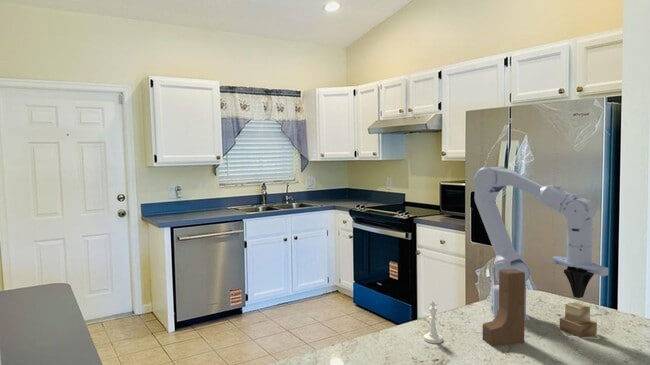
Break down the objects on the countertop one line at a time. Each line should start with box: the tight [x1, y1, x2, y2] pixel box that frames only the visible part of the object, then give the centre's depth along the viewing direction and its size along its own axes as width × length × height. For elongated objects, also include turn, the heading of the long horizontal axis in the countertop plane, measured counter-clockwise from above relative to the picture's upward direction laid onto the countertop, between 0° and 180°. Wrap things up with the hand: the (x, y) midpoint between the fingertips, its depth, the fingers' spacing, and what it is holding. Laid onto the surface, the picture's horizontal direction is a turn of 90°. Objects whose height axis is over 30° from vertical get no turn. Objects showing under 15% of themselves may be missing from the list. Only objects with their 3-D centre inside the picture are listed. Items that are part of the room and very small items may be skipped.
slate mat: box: [555, 324, 602, 340], centre depth 116 cm, size 15×11×1 cm
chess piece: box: [422, 300, 444, 344], centre depth 114 cm, size 5×5×10 cm
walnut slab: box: [559, 316, 598, 339], centre depth 116 cm, size 6×6×3 cm
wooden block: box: [482, 269, 526, 347], centre depth 111 cm, size 9×4×18 cm, turn 101°
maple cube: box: [564, 301, 591, 324], centre depth 116 cm, size 4×4×4 cm
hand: (578, 296), depth 116 cm, fingers closed
